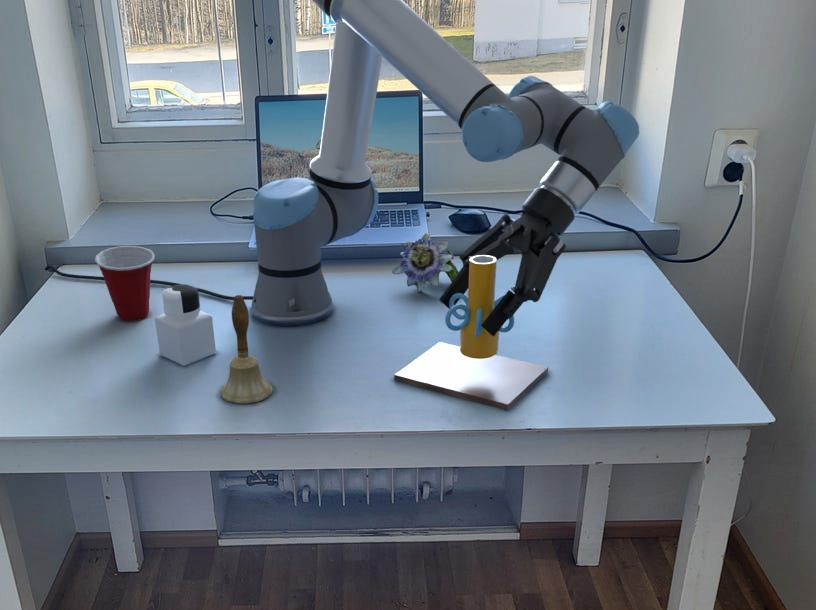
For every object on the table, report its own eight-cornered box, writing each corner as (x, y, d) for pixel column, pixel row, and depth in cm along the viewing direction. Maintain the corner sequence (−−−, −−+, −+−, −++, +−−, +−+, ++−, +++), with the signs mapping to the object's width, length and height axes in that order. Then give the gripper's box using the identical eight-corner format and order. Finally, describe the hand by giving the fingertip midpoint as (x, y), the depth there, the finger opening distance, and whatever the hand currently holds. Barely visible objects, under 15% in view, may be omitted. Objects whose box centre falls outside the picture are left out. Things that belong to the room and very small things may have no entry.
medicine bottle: (192, 342, 163) (184, 277, 157) (217, 353, 159) (209, 287, 152) (159, 355, 159) (149, 289, 153) (183, 367, 155) (174, 299, 148)
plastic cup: (123, 332, 168) (113, 268, 162) (95, 316, 175) (83, 255, 169) (173, 315, 174) (165, 254, 168) (144, 301, 181) (135, 241, 175)
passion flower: (420, 316, 184) (385, 272, 178) (422, 287, 192) (389, 244, 186) (468, 288, 178) (433, 242, 172) (468, 260, 186) (435, 215, 180)
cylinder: (511, 369, 139) (517, 274, 131) (442, 366, 141) (444, 272, 133) (513, 337, 149) (519, 247, 141) (449, 334, 151) (451, 245, 143)
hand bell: (224, 381, 150) (214, 287, 141) (275, 380, 149) (267, 286, 141) (217, 404, 143) (206, 308, 134) (270, 403, 142) (262, 306, 134)
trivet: (394, 380, 148) (394, 374, 147) (439, 347, 158) (439, 341, 157) (507, 410, 138) (508, 404, 137) (548, 372, 148) (548, 367, 148)
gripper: (621, 236, 131) (524, 357, 134) (523, 197, 149) (440, 305, 152) (596, 204, 126) (495, 331, 129) (498, 169, 144) (412, 280, 147)
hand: (465, 317), depth 141 cm, fingers closed on cylinder, 11 cm apart
